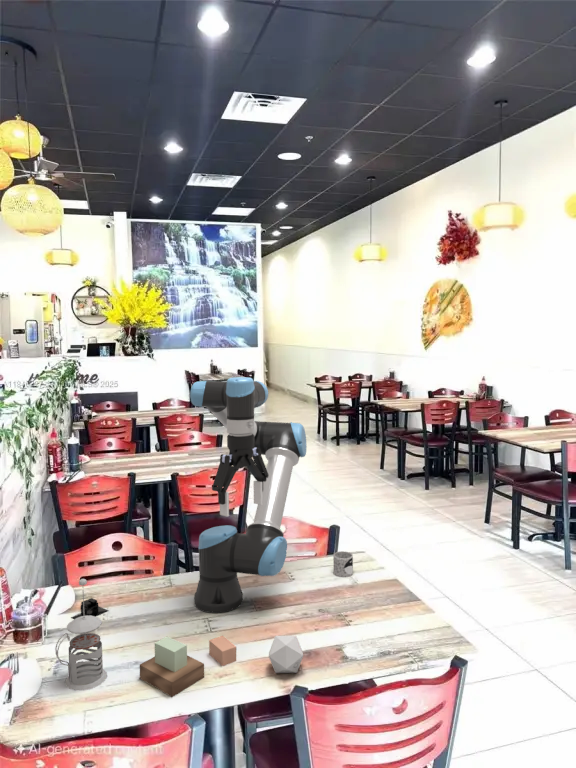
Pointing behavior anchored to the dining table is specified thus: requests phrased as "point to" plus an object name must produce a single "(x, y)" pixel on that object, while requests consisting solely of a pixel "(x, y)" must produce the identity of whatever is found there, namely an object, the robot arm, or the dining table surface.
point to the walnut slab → (172, 675)
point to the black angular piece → (90, 609)
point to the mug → (343, 564)
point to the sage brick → (171, 654)
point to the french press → (87, 671)
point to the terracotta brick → (222, 650)
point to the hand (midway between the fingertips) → (241, 509)
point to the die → (285, 654)
